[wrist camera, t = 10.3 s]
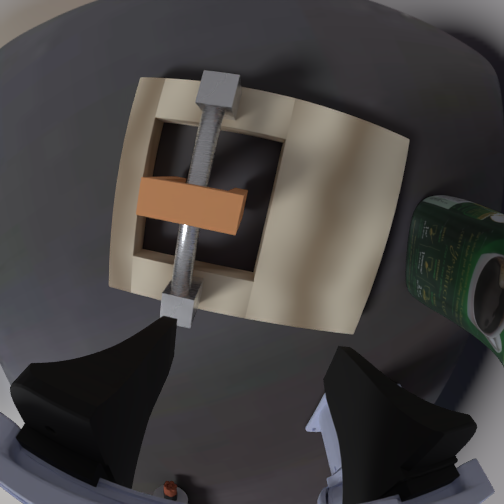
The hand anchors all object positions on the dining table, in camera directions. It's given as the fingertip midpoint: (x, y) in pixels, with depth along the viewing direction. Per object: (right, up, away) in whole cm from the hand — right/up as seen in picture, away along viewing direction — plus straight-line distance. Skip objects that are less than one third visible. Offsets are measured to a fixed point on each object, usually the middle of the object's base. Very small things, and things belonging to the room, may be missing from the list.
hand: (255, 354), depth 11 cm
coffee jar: (+17, +5, +10) cm, 20 cm away
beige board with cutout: (0, +8, +9) cm, 12 cm away
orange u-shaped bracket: (-3, +8, +8) cm, 12 cm away
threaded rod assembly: (-3, +8, +7) cm, 11 cm away
